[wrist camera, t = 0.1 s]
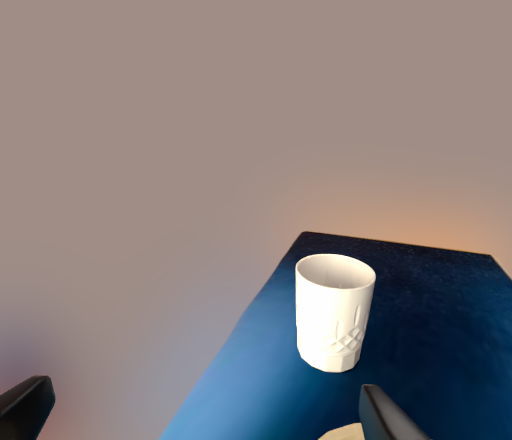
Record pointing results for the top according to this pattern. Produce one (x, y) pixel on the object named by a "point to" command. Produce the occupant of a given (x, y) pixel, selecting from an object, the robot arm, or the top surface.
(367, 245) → the top surface
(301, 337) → the white cup
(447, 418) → the top surface
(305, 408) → the top surface
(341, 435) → the bowl
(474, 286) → the top surface
